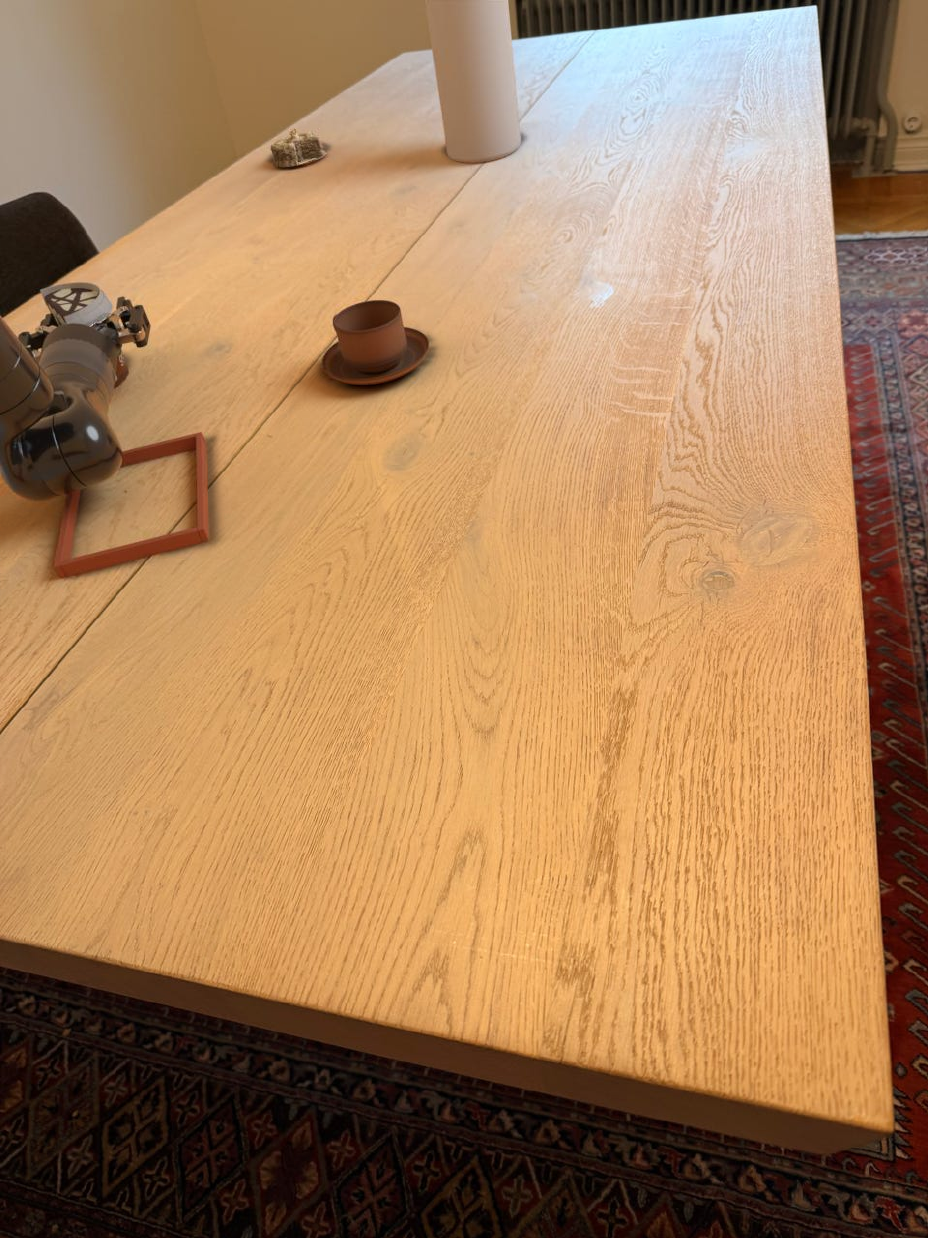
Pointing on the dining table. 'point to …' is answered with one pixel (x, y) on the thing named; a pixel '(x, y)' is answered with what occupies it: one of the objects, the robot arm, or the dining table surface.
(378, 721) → the dining table surface
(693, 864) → the dining table surface
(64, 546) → the square frame
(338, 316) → the cup and saucer
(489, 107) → the cylinder vase
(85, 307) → the food container
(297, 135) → the cake
